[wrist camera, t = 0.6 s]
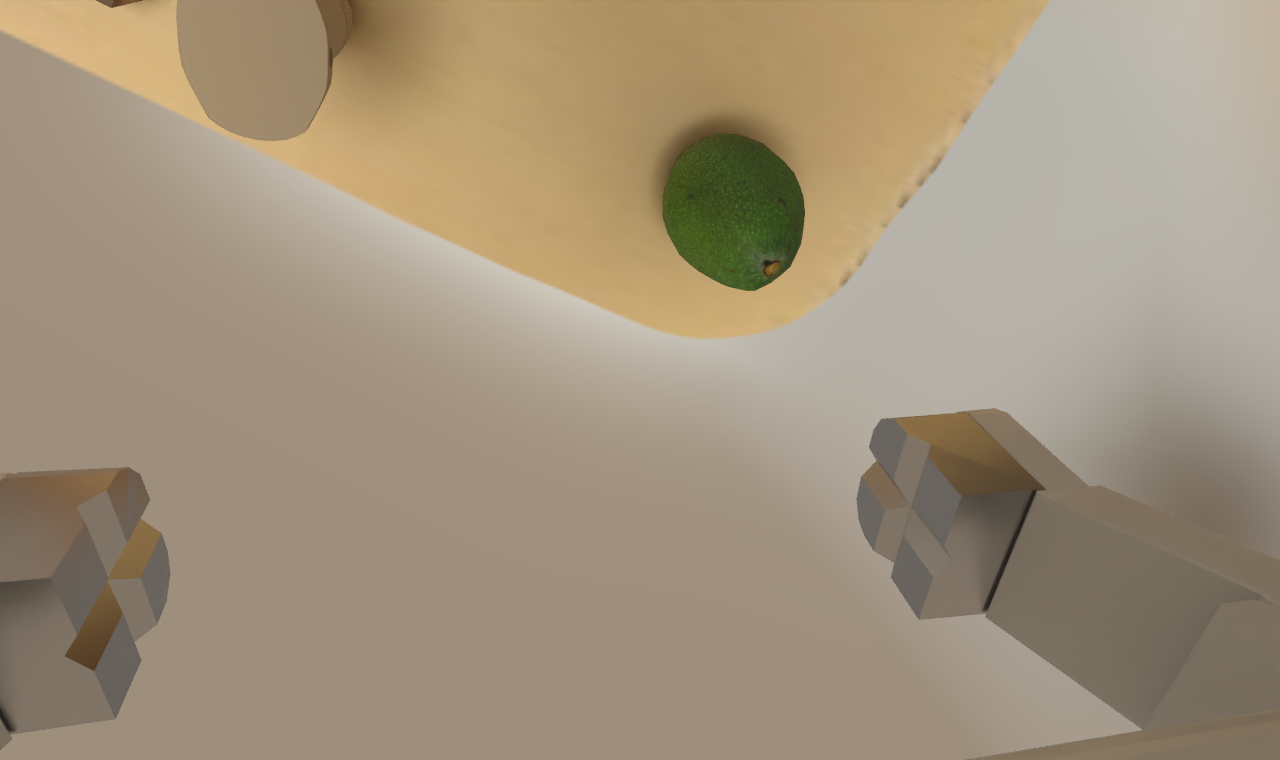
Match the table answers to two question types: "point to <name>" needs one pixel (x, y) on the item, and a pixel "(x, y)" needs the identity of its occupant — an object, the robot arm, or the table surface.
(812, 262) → the table surface
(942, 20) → the table surface
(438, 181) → the table surface
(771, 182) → the fruit
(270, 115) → the handle
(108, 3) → the socket board
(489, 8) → the table surface
